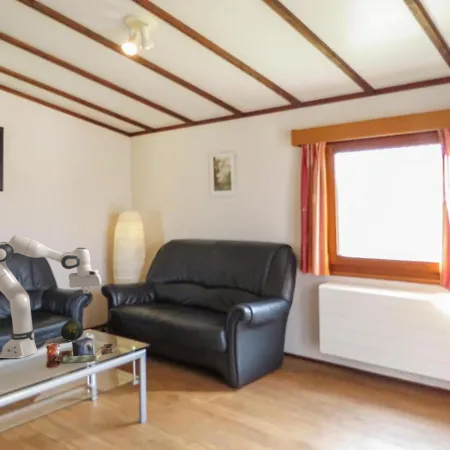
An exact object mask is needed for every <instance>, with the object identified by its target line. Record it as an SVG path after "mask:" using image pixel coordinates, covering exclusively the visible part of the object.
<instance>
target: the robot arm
mask: <svg viewBox="0 0 450 450" xmlns="http://www.w3.org/2000/svg"><path fill="white" fill-rule="evenodd" d="M14 254H20V255H23V256H26V257H30V258H35V259H37V258H47V259H51V260H54V261H56V262H58V263H60V264H61V266H62V268H64V269H66V270H72V269H74V268H75V269H76V272H71V273H70V274H68V280H69V282H68V283H69V284H68V285H69V286H68V287H69V288H81V290H82V291H83V294H85V295H86V294H89V293H90V289H91V287H94V286H95V287H98V286H102V278H101V275H100V273H99V271H100V270H99V269H96V268H95V269H94V268H92V265H91V256H90V250H89V249H87V248H86V247H76V248H75V249H74V250H73V251H71V252H62V251H58V250H56V249H53V248H50V247H48V246H46V245H45V244H44V243H42V242H41V241H38V240H37V239H34V238H31V237H28V236H24V235H20V234H19V235H18V234H16V235H13V236H12V237H11V238H10V240H9V241H8V242H6V241H1V242H0V292H1V293H2V294H3V295H4V296H5V298H6V299H7V300H8V301H9V307H10V314H11V319H12V320H11V321H12V330H13V332H12V333H11V334H10V335H9V338H11V339H10V340H8V342H6V343H5V345H3V346H2V350H1V353H0V358H17V359H22V358H25V357H30V356H32V355H35V354H36V353H37V352H38V349H37V346H36V342H35V332H34V328H33V320H32V318H33V317H32V312H31V311H32V310H31V303H30V301H31V300H30V295H29V294H28V292H27V291H26V289H24V287H23V286H22V284H20V282H19V281H18V280H17V279H16V277H15V275H14V274H13V272H12V271H11V270H10V268H9V267H8V265H7V263H6V262H7V261H8V260H9V259H10V258H11V257H13V255H14ZM85 287H86V289H85Z"/></svg>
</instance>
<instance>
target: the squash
mask: <svg viewBox="0 0 450 450" xmlns="http://www.w3.org/2000/svg"><path fill="white" fill-rule="evenodd" d="M83 327H84V326H83V325H82V323H81V322H80V321H79V320H78V319H77V318H76V317H72V318H71V319H69V320H68V321H66V322H65V323H64V324H63V325H62V327H61V330H60V336H61V337H62V339H65V340H66V341H67V340H71V341H76V340H79V339H81V337H83V333H84V328H83Z"/></svg>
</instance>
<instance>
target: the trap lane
mask: <svg viewBox="0 0 450 450" xmlns="http://www.w3.org/2000/svg"><path fill="white" fill-rule="evenodd" d="M116 349H117V343H115V342H110V343H108V341H105V342H104V343H103V348H102V347H101V348H99V349H98V351H97V352H96V353H95V354H94V355H87V356H74V357H73V348H72V349H70V350H68V349H67V350H59V352H58V353H59V360H60V361H61V362H63V364H69V363H82V362H95V360H97V361H98V360H99V359H100V357H101V356H102V355H106V354H109V355H110V354H113V353H114V351H115V350H116Z"/></svg>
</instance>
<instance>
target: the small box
mask: <svg viewBox="0 0 450 450" xmlns="http://www.w3.org/2000/svg"><path fill="white" fill-rule="evenodd" d="M93 340H94V339H93V338H90V337H88V336H86V337H83V338H78V339H75V340H72V342H71V345H72V349H73V356H72V357H74V356H87V355H95V354H94V353H95V352H94V343H93Z"/></svg>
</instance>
